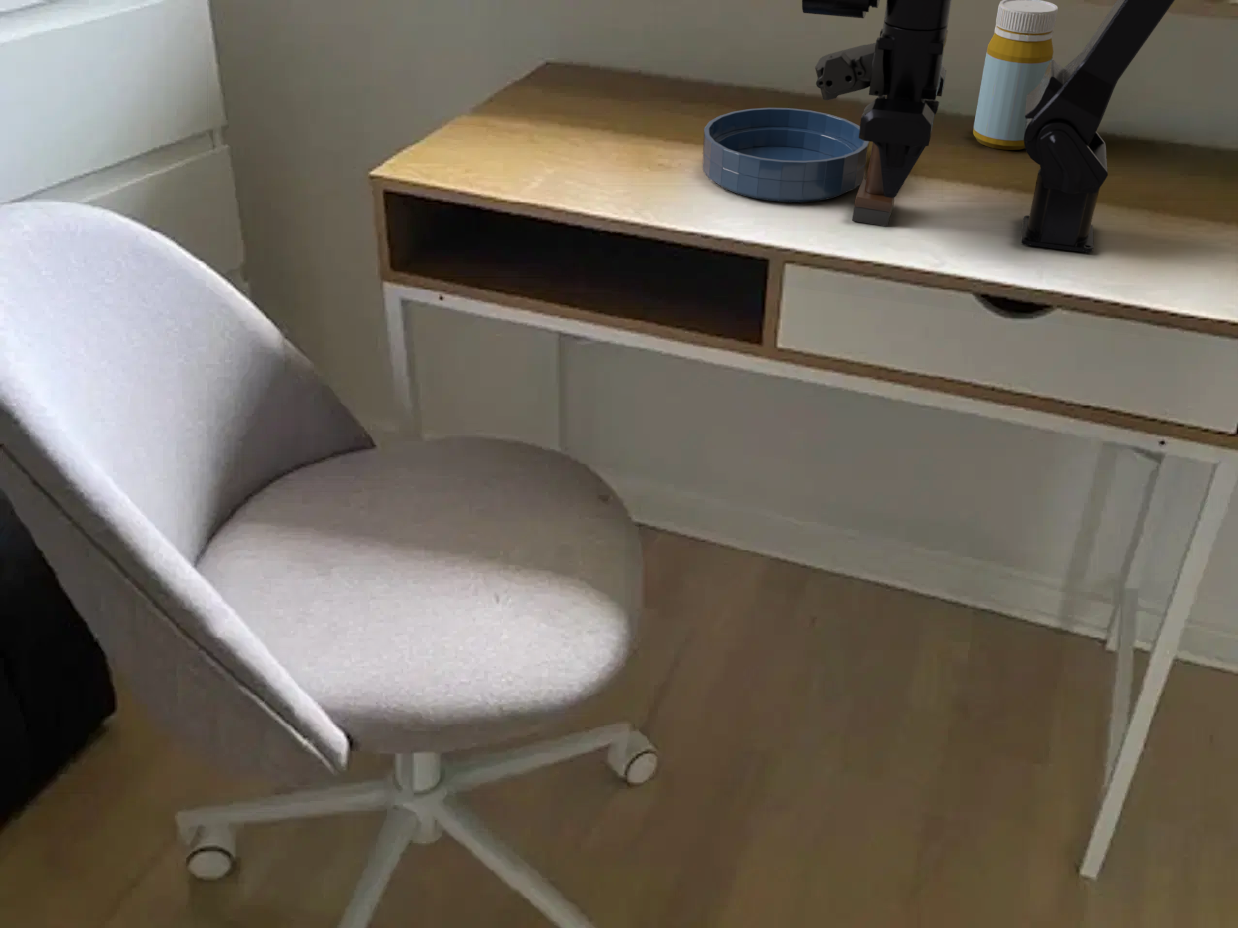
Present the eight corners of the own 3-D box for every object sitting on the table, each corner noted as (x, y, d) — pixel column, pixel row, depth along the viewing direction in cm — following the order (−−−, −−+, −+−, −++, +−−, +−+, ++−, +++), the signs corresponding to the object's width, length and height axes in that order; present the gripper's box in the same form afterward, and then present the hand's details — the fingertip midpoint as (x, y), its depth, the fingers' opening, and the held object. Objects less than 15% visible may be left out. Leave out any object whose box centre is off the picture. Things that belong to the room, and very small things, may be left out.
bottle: (1029, 132, 150) (1055, -2, 142) (1039, 153, 144) (1067, 15, 136) (968, 129, 151) (991, -4, 143) (976, 150, 145) (1000, 12, 137)
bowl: (852, 214, 128) (857, 170, 126) (685, 193, 132) (687, 151, 130) (873, 158, 142) (878, 117, 140) (721, 140, 146) (723, 101, 144)
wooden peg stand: (887, 227, 126) (905, 132, 121) (851, 221, 127) (868, 126, 121) (892, 208, 130) (910, 115, 125) (858, 202, 131) (874, 110, 125)
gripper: (841, -8, 127) (824, 146, 136) (811, 40, 112) (794, 211, 121) (957, 2, 125) (932, 159, 133) (942, 53, 110) (915, 226, 118)
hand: (892, 186), depth 126 cm, fingers open, 5 cm apart
